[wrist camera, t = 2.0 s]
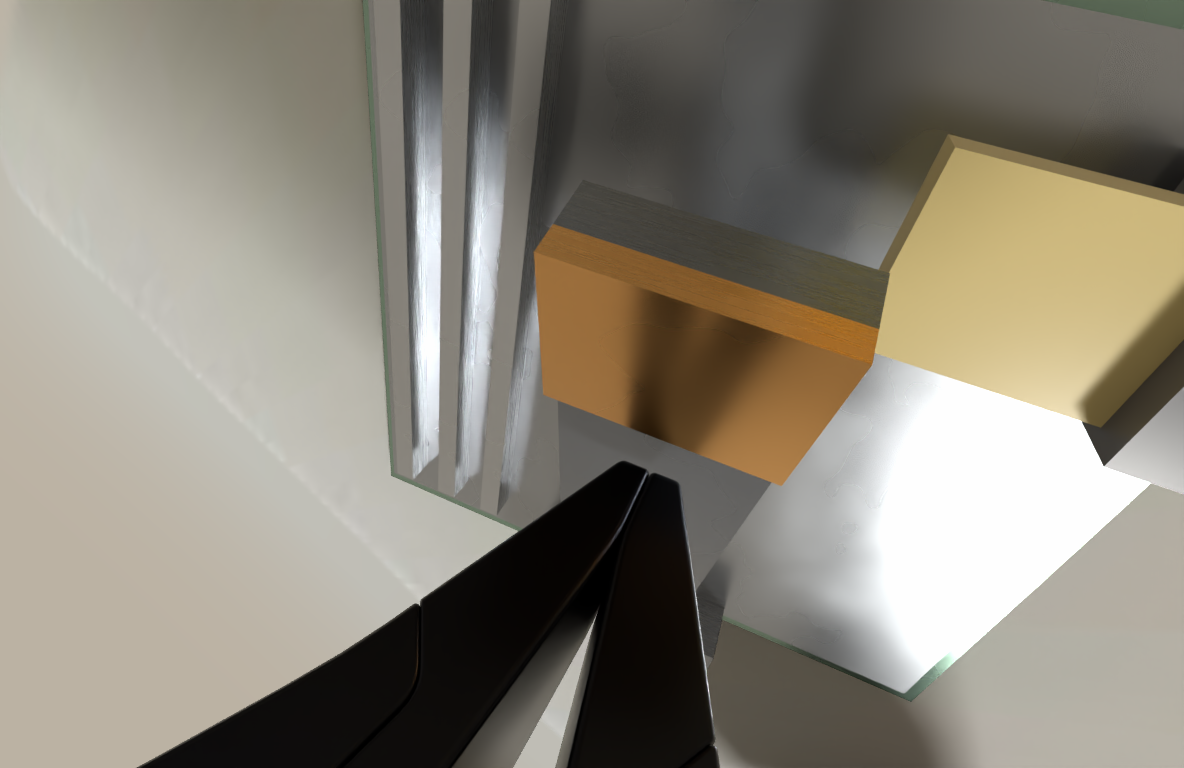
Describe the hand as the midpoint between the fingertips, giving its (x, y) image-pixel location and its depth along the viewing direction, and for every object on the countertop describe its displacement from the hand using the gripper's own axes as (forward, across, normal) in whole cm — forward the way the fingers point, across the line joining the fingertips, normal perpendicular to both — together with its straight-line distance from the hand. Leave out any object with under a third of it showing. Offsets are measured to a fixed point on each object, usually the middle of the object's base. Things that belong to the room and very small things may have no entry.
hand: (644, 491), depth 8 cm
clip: (+4, -4, -3) cm, 7 cm away
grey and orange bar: (+2, 0, +2) cm, 3 cm away
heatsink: (+8, 0, +2) cm, 8 cm away
